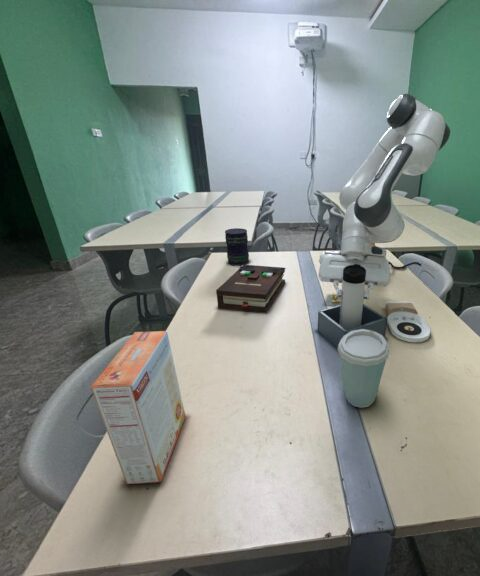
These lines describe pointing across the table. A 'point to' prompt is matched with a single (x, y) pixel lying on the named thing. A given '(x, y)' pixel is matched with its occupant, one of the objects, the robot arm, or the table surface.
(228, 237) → the storage jar
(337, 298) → the dice set
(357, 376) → the disposable coffee cup
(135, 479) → the cracker box
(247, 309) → the decorative book
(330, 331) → the storage box
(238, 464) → the table surface
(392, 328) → the record player
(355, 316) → the travel mug
